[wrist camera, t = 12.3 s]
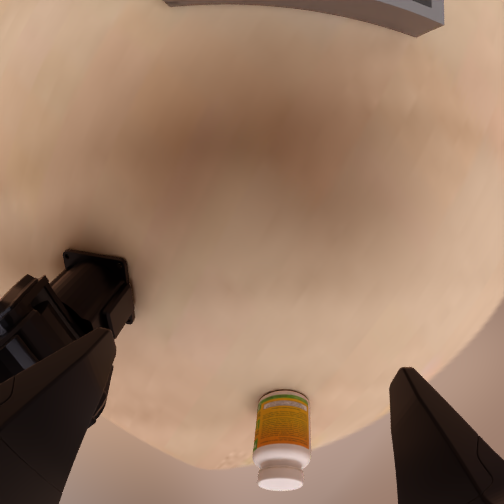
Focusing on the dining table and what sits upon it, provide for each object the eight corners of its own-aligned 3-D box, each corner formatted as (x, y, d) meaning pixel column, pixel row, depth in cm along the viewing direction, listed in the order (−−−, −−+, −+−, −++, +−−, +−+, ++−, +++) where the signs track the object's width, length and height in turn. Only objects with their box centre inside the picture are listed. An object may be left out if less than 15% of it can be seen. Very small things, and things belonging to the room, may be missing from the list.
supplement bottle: (251, 392, 28) (240, 476, 20) (304, 385, 27) (305, 473, 18) (266, 419, 30) (259, 494, 22) (313, 412, 29) (315, 490, 21)
